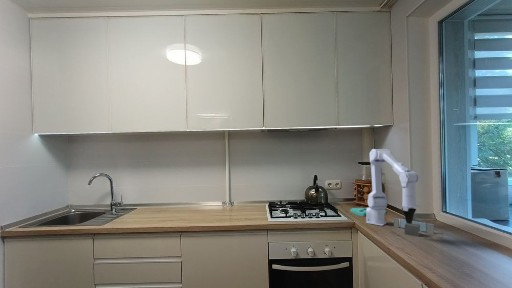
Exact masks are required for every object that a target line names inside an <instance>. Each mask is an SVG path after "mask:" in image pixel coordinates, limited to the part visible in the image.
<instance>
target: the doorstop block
mask: <svg viewBox="0 0 512 288" xmlns="http://www.w3.org/2000/svg"><path fill="white" fill-rule="evenodd" d="M404 235H407V236H413V237H416V238H418V237H419V236H420V235H421V231H420V225H418V224H412V223H411V224H409V223H406V224H405V228H404Z"/></svg>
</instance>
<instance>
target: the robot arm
mask: <svg viewBox="0 0 512 288" xmlns="http://www.w3.org/2000/svg"><path fill="white" fill-rule="evenodd" d="M385 162H386V163H388V164H389V165H390V166H391V167H392V171H393V172H394V173H395V174H397V176H398V177H399V181H400V185H401V188H402V190H401V191H402V192H401V193H402V194H401V195H402V197H401V198H402V199H401V201H402V202H401V203H402V204H401V206H402V208H401V211H402V213H403V214H404V218H405V219H404V220H406V223H409V224H411V223H412V221H414V216H415V213H416V211H417V209H416V208H419V205H417V204H416V202H417V201H416V196H417V195H416V183H417V182H418V181H419V175H418V173H417V172H416V171H414V170H410V169H409V168H408V167H407V166H406V165H405V164H404V162H401V161H400V162H398V161H397V159H396V158H395V157H394V155H392V151H390V149H389V148H377V149H376V148H372V149H371V150H370V152H369V163H370V168H371V169H370V171H371V189H372V190H371V192H370V193H369V194H367V196H368V197H367V200H366V201H367V205H368V207H366V208H367V210H366V215H365V219H366V220H365V223H366V224H371V225H377V226H384V225H386V224H387V223H388V222H387V221H385V213H384V210H386V208H387V206H388V199H387V195H386V193H384V192H383V185H382V183H383V182H382V166H381V165H382V164H383V163H385Z"/></svg>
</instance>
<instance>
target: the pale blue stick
mask: <svg viewBox="0 0 512 288" xmlns="http://www.w3.org/2000/svg"><path fill="white" fill-rule="evenodd" d="M400 219H401V228H402V229H405V224H406V219H403V218H400ZM412 224H418V225H420V232H426V233H427V223H426V222H421V221H417V220H416V221H414V220H413V221H412Z"/></svg>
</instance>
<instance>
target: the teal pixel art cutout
mask: <svg viewBox="0 0 512 288" xmlns="http://www.w3.org/2000/svg"><path fill="white" fill-rule="evenodd" d="M367 208H368V207H353V208H350V210H349V211H350V213H352V214H354V215H356V216H360V217H366V210H367ZM384 214H387V209H384Z"/></svg>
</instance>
